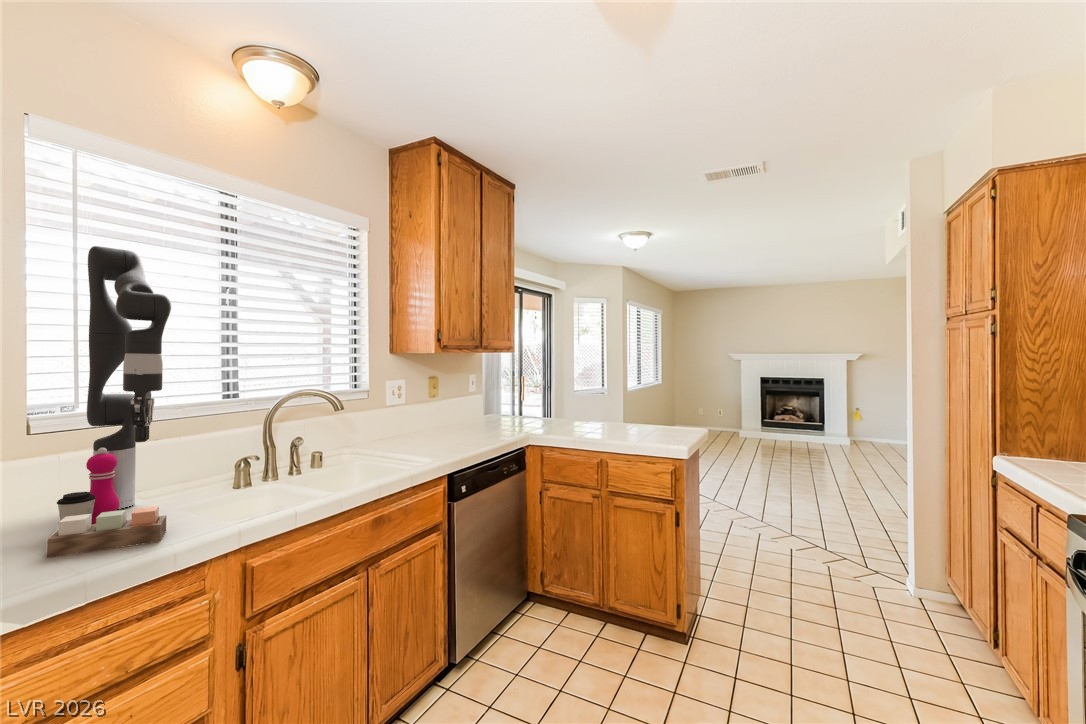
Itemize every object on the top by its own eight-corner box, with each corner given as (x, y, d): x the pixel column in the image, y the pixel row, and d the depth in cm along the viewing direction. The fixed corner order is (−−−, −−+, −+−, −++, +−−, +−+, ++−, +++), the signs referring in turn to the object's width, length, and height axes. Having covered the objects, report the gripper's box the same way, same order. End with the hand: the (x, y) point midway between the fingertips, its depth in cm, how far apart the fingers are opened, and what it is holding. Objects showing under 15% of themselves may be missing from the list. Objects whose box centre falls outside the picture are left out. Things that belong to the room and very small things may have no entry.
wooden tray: (46, 557, 103) (47, 538, 103) (60, 545, 110) (60, 527, 110) (160, 541, 113) (160, 523, 113) (166, 531, 120) (166, 514, 120)
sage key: (95, 537, 108) (96, 517, 108) (101, 531, 112) (101, 512, 112) (121, 534, 110) (121, 514, 110) (125, 528, 114) (126, 509, 114)
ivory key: (58, 542, 105) (58, 522, 105) (65, 536, 109) (65, 516, 109) (85, 538, 107) (85, 519, 107) (91, 532, 111) (91, 513, 111)
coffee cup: (103, 531, 119) (103, 491, 119) (71, 541, 112) (72, 499, 112) (80, 529, 120) (81, 489, 120) (47, 539, 113) (48, 497, 113)
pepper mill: (96, 529, 120) (97, 450, 120) (74, 526, 122) (75, 449, 122) (126, 520, 127) (127, 446, 128) (105, 518, 129) (106, 444, 129)
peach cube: (131, 532, 111) (131, 513, 111) (135, 527, 115) (135, 508, 115) (155, 529, 114) (155, 510, 114) (158, 524, 117) (158, 506, 117)
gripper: (130, 371, 122) (129, 438, 122) (116, 372, 110) (115, 446, 110) (166, 371, 126) (165, 436, 126) (157, 372, 114) (156, 444, 114)
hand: (142, 440), depth 118 cm, fingers closed
